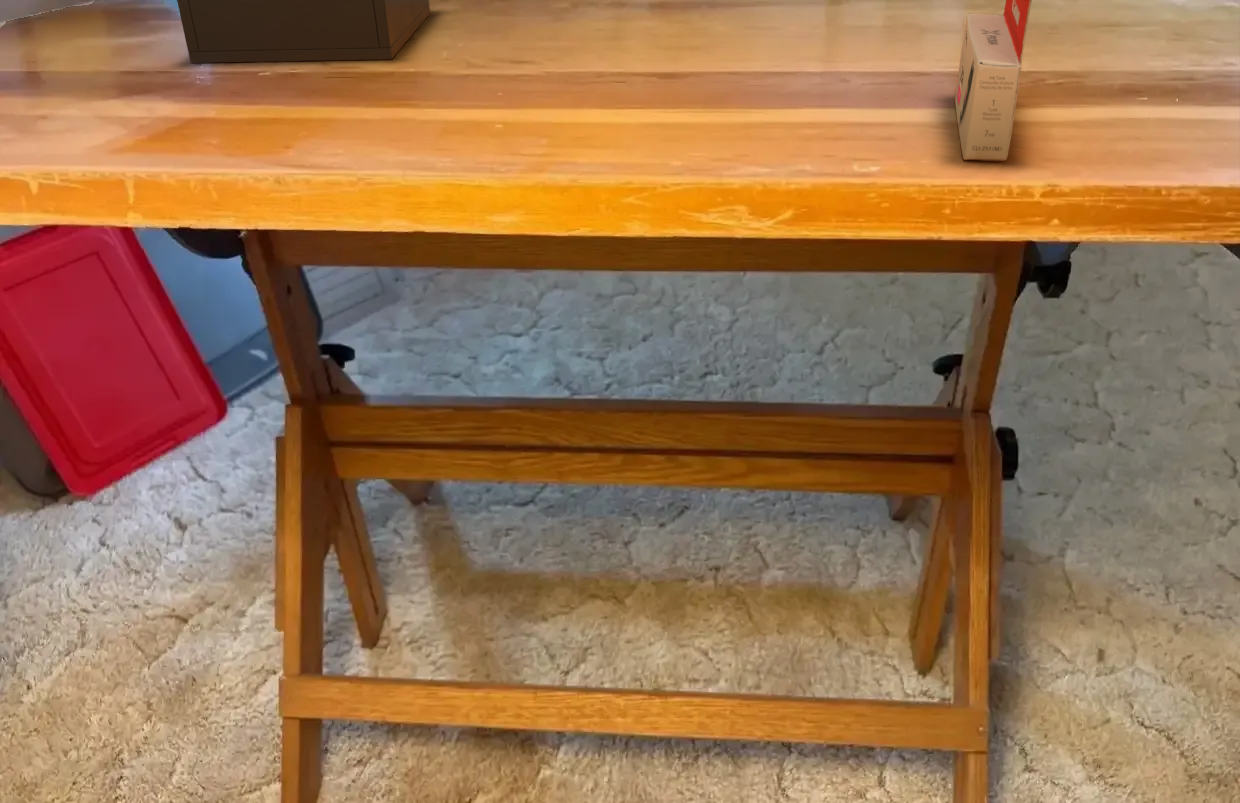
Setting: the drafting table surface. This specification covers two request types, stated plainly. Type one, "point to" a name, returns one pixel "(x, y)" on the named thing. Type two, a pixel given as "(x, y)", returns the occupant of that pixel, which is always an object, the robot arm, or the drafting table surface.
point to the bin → (298, 29)
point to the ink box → (990, 80)
